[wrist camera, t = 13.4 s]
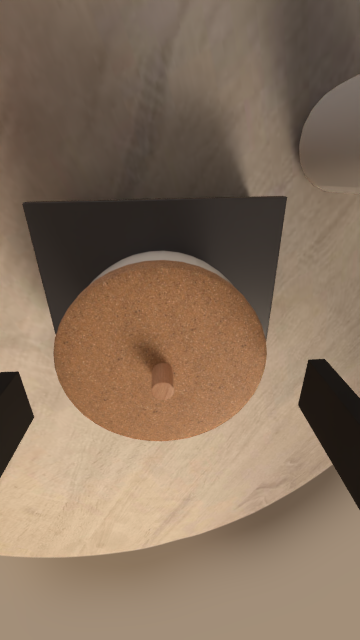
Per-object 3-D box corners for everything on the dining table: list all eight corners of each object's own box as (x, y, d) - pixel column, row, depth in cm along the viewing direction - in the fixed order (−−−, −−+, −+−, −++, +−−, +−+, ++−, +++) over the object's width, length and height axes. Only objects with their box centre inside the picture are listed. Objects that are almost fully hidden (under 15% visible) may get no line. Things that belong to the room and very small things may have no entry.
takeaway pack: (255, 191, 24) (287, 196, 18) (241, 338, 31) (261, 378, 25) (59, 196, 23) (21, 202, 17) (88, 345, 30) (69, 388, 24)
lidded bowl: (77, 345, 22) (24, 447, 14) (109, 208, 18) (60, 236, 9) (201, 377, 24) (222, 482, 16) (257, 263, 20) (327, 325, 11)
